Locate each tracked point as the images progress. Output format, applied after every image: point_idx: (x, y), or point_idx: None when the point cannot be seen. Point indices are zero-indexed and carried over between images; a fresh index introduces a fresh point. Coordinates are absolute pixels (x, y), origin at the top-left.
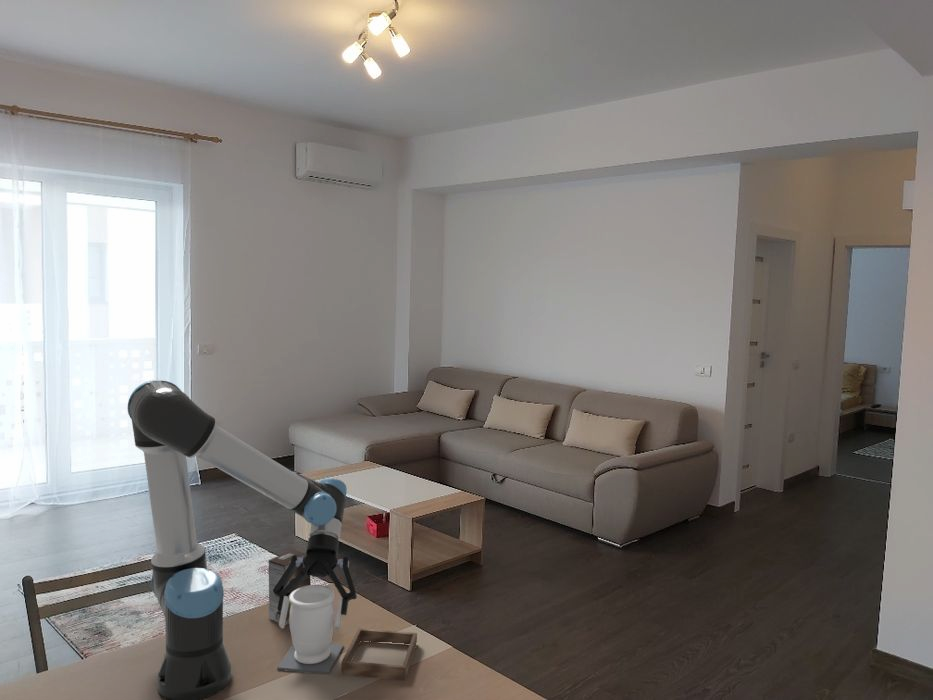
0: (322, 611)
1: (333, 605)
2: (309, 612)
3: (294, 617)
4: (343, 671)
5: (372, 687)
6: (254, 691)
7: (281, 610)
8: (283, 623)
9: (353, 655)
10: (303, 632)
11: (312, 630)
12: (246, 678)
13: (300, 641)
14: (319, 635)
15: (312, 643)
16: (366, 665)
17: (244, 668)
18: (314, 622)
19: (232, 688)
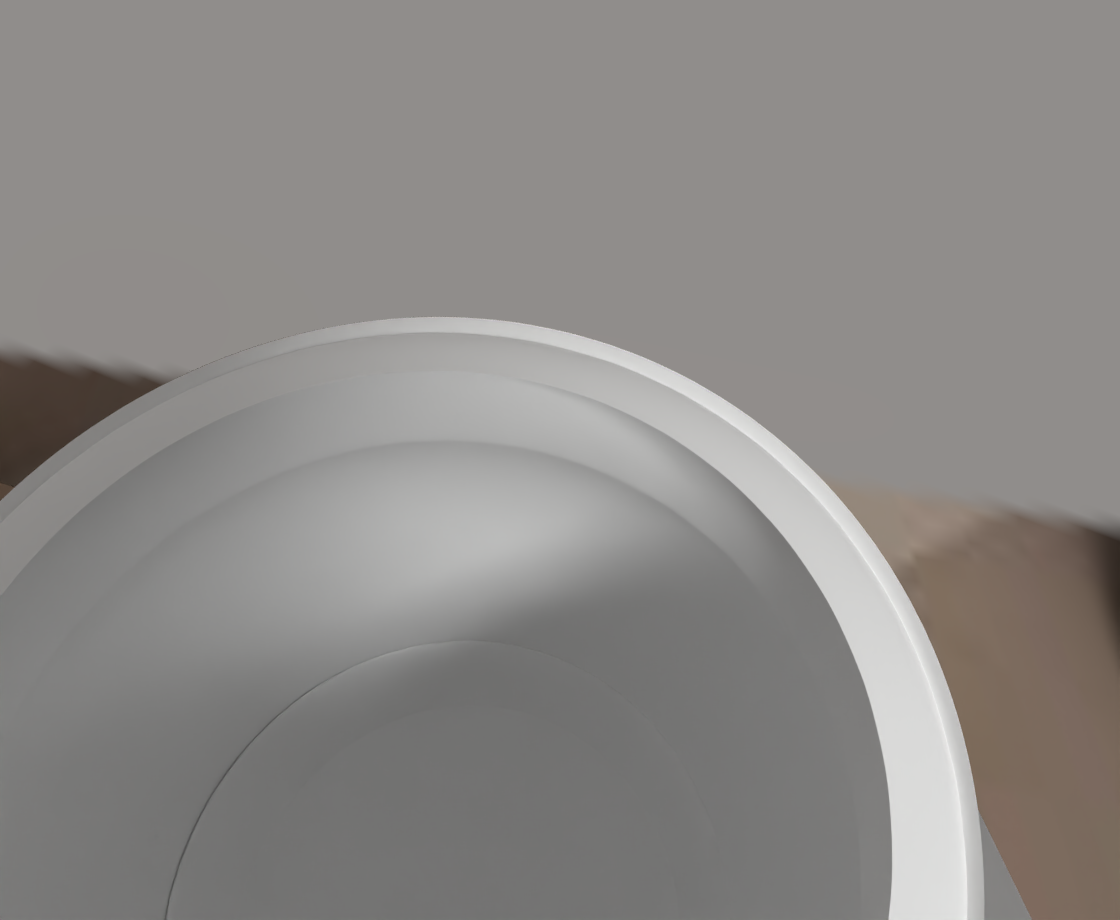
0: (273, 486)
1: (9, 767)
2: (497, 444)
3: (734, 603)
4: None
5: (51, 412)
6: (910, 505)
7: (1011, 879)
8: None
9: None
10: (577, 576)
11: (461, 546)
12: (1027, 685)
13: (604, 670)
14: (376, 604)
15: (466, 644)
16: (3, 487)
17: (1102, 856)
18: (427, 499)
19: (1089, 567)
